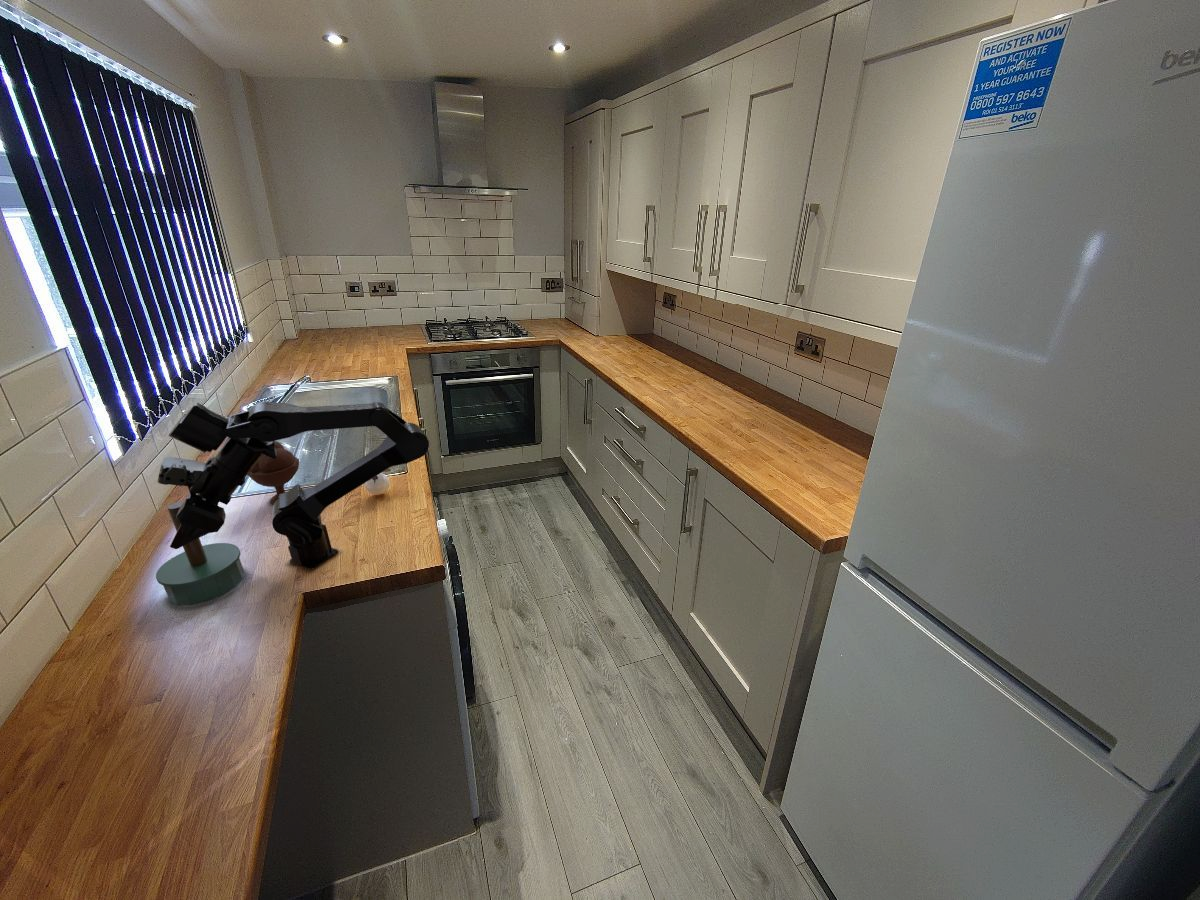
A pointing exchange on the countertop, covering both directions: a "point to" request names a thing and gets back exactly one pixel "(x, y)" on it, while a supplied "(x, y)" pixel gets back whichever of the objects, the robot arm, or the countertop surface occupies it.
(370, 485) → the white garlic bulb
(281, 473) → the ice cream bowl
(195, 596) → the tin
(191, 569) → the lid
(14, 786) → the countertop surface
